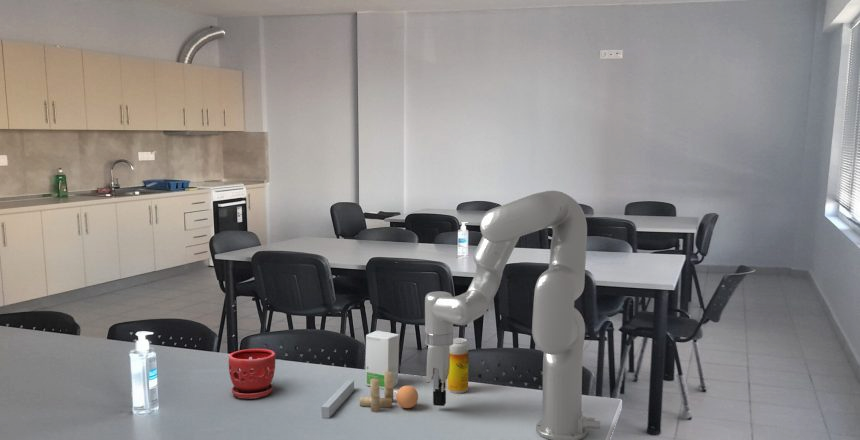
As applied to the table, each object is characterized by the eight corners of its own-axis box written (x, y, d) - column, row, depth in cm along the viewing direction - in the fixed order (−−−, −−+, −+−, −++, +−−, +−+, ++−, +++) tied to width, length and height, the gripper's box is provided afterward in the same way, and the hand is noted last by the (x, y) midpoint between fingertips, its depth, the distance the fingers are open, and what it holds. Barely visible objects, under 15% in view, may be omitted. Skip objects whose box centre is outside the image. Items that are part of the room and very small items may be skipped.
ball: (395, 388, 193) (405, 407, 193) (389, 395, 187) (400, 415, 187) (413, 379, 192) (424, 398, 192) (408, 386, 186) (419, 406, 186)
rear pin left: (380, 409, 189) (380, 378, 188) (378, 412, 186) (378, 381, 186) (372, 408, 189) (371, 378, 188) (369, 411, 187) (369, 381, 186)
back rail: (354, 390, 204) (354, 380, 204) (328, 418, 183) (328, 407, 182) (347, 389, 204) (347, 379, 204) (321, 417, 183) (321, 406, 183)
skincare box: (364, 386, 208) (364, 334, 206) (376, 379, 213) (375, 329, 212) (388, 390, 204) (388, 338, 202) (400, 383, 209) (399, 333, 208)
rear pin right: (394, 400, 195) (393, 371, 194) (392, 403, 193) (391, 373, 192) (385, 400, 196) (385, 370, 195) (383, 403, 193) (383, 373, 192)
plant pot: (277, 398, 197) (276, 357, 196) (229, 403, 194) (228, 361, 192) (274, 384, 210) (273, 345, 209) (229, 388, 206) (228, 349, 205)
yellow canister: (466, 394, 200) (466, 343, 198) (445, 393, 201) (445, 342, 199) (469, 387, 205) (469, 338, 204) (449, 386, 207) (449, 337, 205)
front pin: (391, 397, 191) (361, 395, 193) (390, 400, 189) (359, 399, 190) (392, 405, 192) (362, 403, 193) (390, 408, 189) (359, 407, 191)
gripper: (430, 330, 194) (431, 394, 196) (419, 345, 179) (420, 414, 181) (457, 331, 193) (457, 396, 194) (448, 346, 178) (448, 415, 180)
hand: (439, 404), depth 188 cm, fingers closed
